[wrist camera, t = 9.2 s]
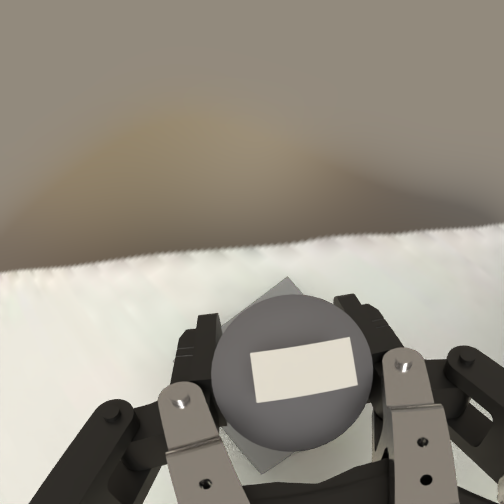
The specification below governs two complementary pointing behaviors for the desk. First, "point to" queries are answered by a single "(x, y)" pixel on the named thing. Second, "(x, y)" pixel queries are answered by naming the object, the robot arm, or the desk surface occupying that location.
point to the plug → (292, 372)
